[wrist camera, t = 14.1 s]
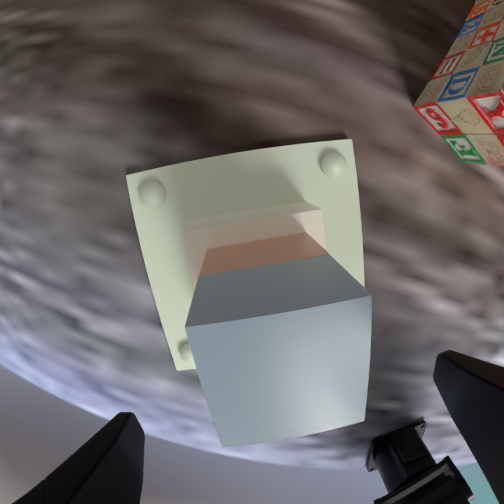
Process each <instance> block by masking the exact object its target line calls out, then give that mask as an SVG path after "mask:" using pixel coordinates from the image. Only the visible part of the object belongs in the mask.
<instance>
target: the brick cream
mask: <svg viewBox="0 0 504 504" xmlns="http://www.w3.org/2000/svg"><path fill="white" fill-rule="evenodd" d="M304 232H306V233H308V234H309V235H310V236H311V237H312V238H313V239H314V240H315V241H316V242H317V243H319V244H320V245H321V246H322V247H323V248H324V249H325V250H326V243H325V233H324V224H323V215H322V209H321V208H319V207H317V206H314V205H312V204H310V203H308V202H306V201H305V202H298V203H291V204H285V205H278V206H272V207H266V208H259V209H253V210H247V211H241V212H235V213H229V214H224V215H218V216H212V217H207V218H201V219H196V220H191V221H190V222H189V224H188V225H187V227H186V228H185V229H184V231H183V232H182V234H183V238H184V243H185V248H186V252H187V257H188V262H189V266H190V270H191V275H192V279H193V283H194V288H195V287H196V283H197V280H198V276H199V275H200V272H201V268H202V265H203V261H204V258H205V254H206V251H207V249H210V248H216V247H221V246H227V245H233V244H239V243H245V242H250V241H256V240H262V239H268V238H274V237H280V236H286V235H292V234H298V233H304Z"/></svg>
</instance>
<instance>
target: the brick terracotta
mask: <svg viewBox="0 0 504 504" xmlns="http://www.w3.org/2000/svg"><path fill="white" fill-rule="evenodd" d="M323 255H329V253H328V252H327V251H326V250H325V249H324V248H323V247H322V246H321V245H320V244H319V243H317V242H316V241H315V240H314V239H313V238H312V237H311V236H310V235H309V234H308V233H306V232H304V233H298V234H292V235H286V236H280V237H274V238H268V239H262V240H256V241H250V242H245V243H239V244H233V245H227V246H221V247H216V248H210V249H207V251H206V254H205V258H204V261H203V265H202V268H201V272H200V275H204V274H210V273H217V272H223V271H230V270H236V269H243V268H249V267H255V266H262V265H268V264H274V263H280V262H287V261H293V260H299V259H305V258H311V257H317V256H323Z"/></svg>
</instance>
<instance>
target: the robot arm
mask: <svg viewBox="0 0 504 504" xmlns="http://www.w3.org/2000/svg"><path fill="white" fill-rule="evenodd" d="M433 378H434V382H435V384H436V386H437V388H438V390H439V392H440V394H441V396H442V399H443V401H444V403H445V405H446V407H447V409H448V411H449V413H450V415H451V417H452V419H453V421H454V423H455V424H456V426H457V428H458V429H459V431H460V433H461V434H462V436H463V438H464V439H465V441H466V443H467V445H468V446H469V448H470V450H471V452H472V453H473V455H474V457H475V459H476V460H477V462H478V464H479V466H480V468H481V469H482V471H483V473H484V475H485V477H486V479H487V481H488V482H489V484H490V486H491V488H492V490H493V492H494V494H495V496H496V498H497V500H498V502H499V504H504V367H501V366H498V365H495V364H492V363H489V362H485V361H482V360H479V359H476V358H473V357H470V356H467V355H464V354H461V353H458V352H455V351H452V350H447V351H444V352H442V353H439V354H438V356H437V358H436V363H435V368H434V373H433ZM426 425H427V423H426V422H425V421H421V422H419V423H416V424H414V425H411V426H408V427H406V428H403V429H400V430H398V431H395V432H392V433H389V434H386V435H383V436H380V437H377V438H375V439H373V440H372V443H371V449H370V454H369V460H368V465H367V470H368V472H371V471H374V470H377V469H378V471H379V473H380V475H381V478H382V480H383V482H384V484H385V487H386V489H387V491H388V494H387V495H385V496H383V497H381V498H378V499H376V500H374V504H470V503H469V502H470V501H472V500H473V499H474V495H473V493H472V491H471V489H470V487H469V486H468V484H467V482H466V481H465V479H464V478H463V476H462V475H461V473H460V472H459V470H458V469H457V468H456V466H455V465H454V463H453V462H452V460H451V459H450V458H449V456H446V457H445V458H444V459H443V460H442V461H441V462H439V463H438V464H436V462H435V460H434V459H433V457H432V455H431V454H430V452H429V450H428V448H427V447H426V445H425V444H424V442H423V440H422V438H423V435H424V432H425V428H426ZM144 443H145V435H144V431H143V429H142V427H141V425H140V423H139V422H138V420H137V418H136V416H135V414H134V413H132V412H120V413H118V414H117V415H116V416H115V417H114V418H113V419H112V420H110V421H109V422H108V423H107V424H106V425H105V426H104V427H103V428H102V429H100V430H99V431H98V432H97V433H96V434H95V435H94V436H93V437H92V438H90V439H89V440H88V441H87V442H86V443H85V444H84V445H82V446H81V447H80V448H79V449H78V450H77V451H76V452H75V453H74V454H72V455H71V456H70V457H69V458H68V459H67V460H65V461H64V462H63V463H62V464H61V465H60V466H59V467H57V468H56V469H55V470H54V471H53V472H51V473H50V474H49V475H48V476H47V477H46V478H45V480H42V481H41V482H40V483H39V484H38V485H36V486H35V487H34V488H32V489H31V490H30V491H29V492H27V493H26V494H25V495H24V496H22V497H21V498H19V499H18V500H16V501H15V502H14V503H12V504H140V498H141V491H142V483H143V468H144V466H143V465H144Z"/></svg>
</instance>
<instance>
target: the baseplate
mask: <svg viewBox="0 0 504 504" xmlns="http://www.w3.org/2000/svg"><path fill="white" fill-rule="evenodd" d="M126 179H127V185H128V190H129V195H130V200H131V205H132V210H133V215H134V219H135V224H136V228H137V233H138V237H139V241H140V246H141V250H142V254H143V258H144V262H145V266H146V270H147V274H148V277H149V281H150V285H151V288H152V292H153V296H154V299H155V303H156V306H157V309H158V313H159V316H160V319H161V323H162V326H163V329H164V332H165V336H166V339H167V342H168V345H169V348H170V351H171V354H172V357H173V360H174V363H175V366H176V369H177V371H178V370H188V369H196V366H195V362H194V359H193V355H192V352H191V348H190V345H189V341H188V338H187V334H186V330H185V324H186V320H187V316H188V313H189V309H190V305H191V302H192V298H193V294H194V291H195V288H194V283H193V279H192V275H191V270H190V266H189V262H188V257H187V252H186V248H185V243H184V238H183V234H182V232H183V231H184V229H185V228H186V227H187V225H188V224H189V222H190V221H191V220H196V219H201V218H207V217H212V216H218V215H224V214H229V213H235V212H241V211H247V210H253V209H259V208H266V207H272V206H278V205H285V204H291V203H298V202H305V201H306V202H308V203H310V204H312V205H314V206H317V207H319V208H321V209H322V215H323V224H324V233H325V243H326V251H327V252H328V253H329V254H330V255H331V256H332V257H333V258H334V259H335V260H336V261H337V262H338V263H339V264H340V265H341V266H342V267H343V268H344V269H346V270H347V271H348V272H349V273H350V274H351V275H352V276H353V277H354V278H355V279H356V280H357V281H358V282H359V283H360V284H361V285H362V286H363V287H364V260H363V242H362V227H361V214H360V203H359V193H358V183H357V174H356V166H355V158H354V151H353V144H352V139H346V140H334V141H323V142H313V143H304V144H295V145H287V146H279V147H271V148H264V149H257V150H251V151H244V152H238V153H232V154H226V155H220V156H214V157H209V158H203V159H198V160H193V161H188V162H183V163H178V164H173V165H169V166H164V167H160V168H155V169H151V170H146V171H142V172H138V173H134V174H130V175H126Z"/></svg>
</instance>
